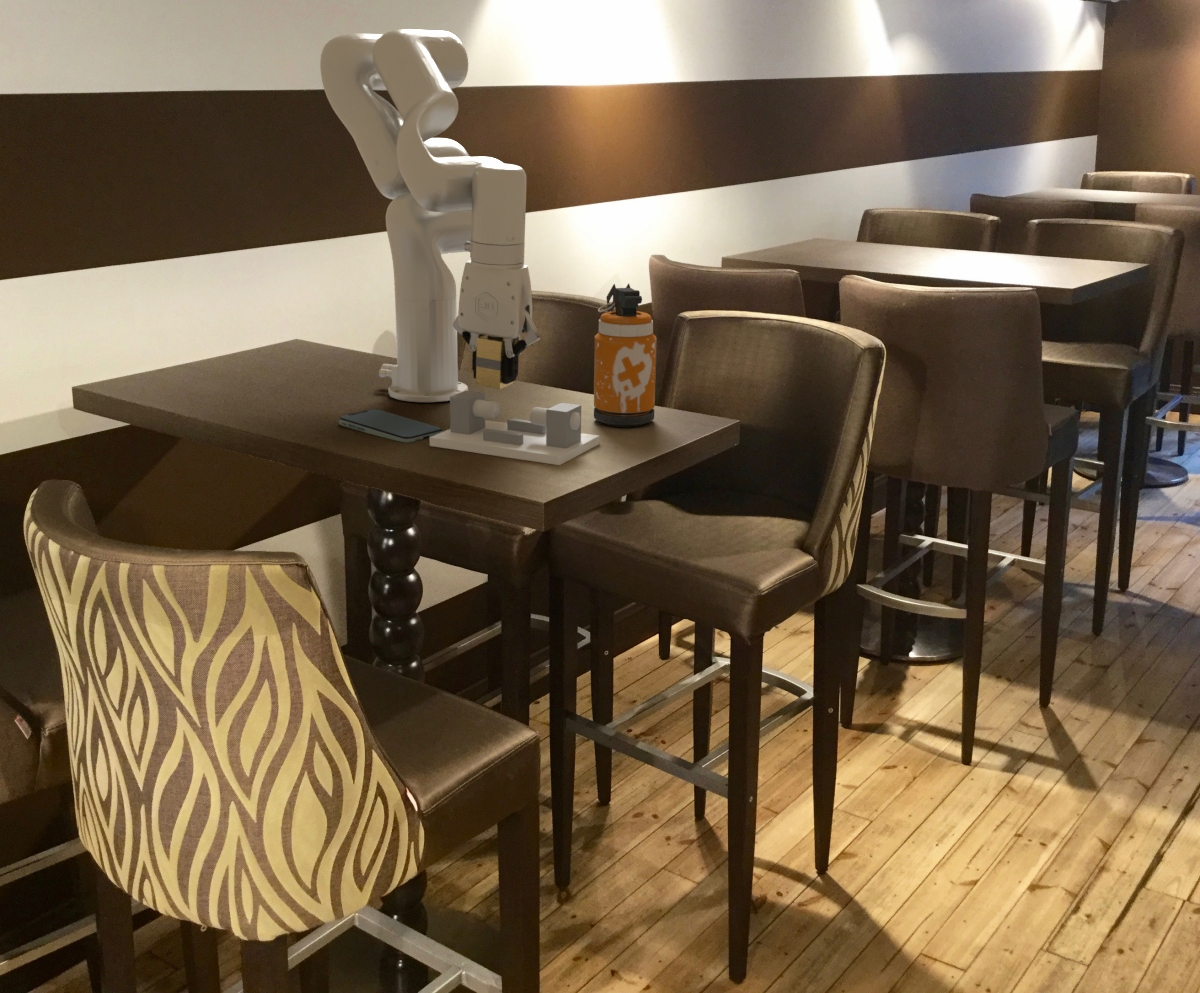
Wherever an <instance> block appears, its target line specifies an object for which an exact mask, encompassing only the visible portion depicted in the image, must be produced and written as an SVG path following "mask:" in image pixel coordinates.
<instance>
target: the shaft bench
mask: <svg viewBox="0 0 1200 993" xmlns="http://www.w3.org/2000/svg"><path fill="white" fill-rule="evenodd" d="M500 414H501V405H500V403H499V402H498V401H494V400H493V401H491V400H486V393H485V392H480V391H474V390H473V391H472V390H468V391H464V392H461V393H459V394H456V395H453V396H451V397H450V401H449V416H450V417H449V421H450V422H449V424H450V425H449V426H450V427H449V429H446V430H443V431H442V432H441V433H439V434H436V435H434V436H431V437H429V438H428V439H429V446H430V447H435V448H442V449H447V450H448V449H450V450H455V451H461V452H467V453H469V452H470V453H476V454H480V455H481V454H482V455H487V456H488V455H489V456H494V457H495V456H496V457H502V458H507V459H515V460H522V461H528V462H529V461H530V462H537V463H543V464H548V465H555V466H561V465H563V464H565V463H566V462H569V461H570V460H572V459H574V458H577V457H579V456H580V455H582V454H584V453H585V452H587V451H589V450H591V449H593V448H595V447H597V446H598V445H600V438H601V437H600V436H601V435H598V434H597V435H596V434H590V433H582V405H581V404H576V403H575V404H574V403H568V402H566V403H565V402H560V403H558V404H555V405H553V406H551V407H549V408H547V407H546V408H545V407H540V406H539V407H538V406H534V407H533V408H532V409H531V411H530V414H529V420H525V419H520V418H519V419H518V418H513V417H512V418H509V419H507V420H506V422H502V421H496V420H497V419H498V418H499V417H500V416H499V415H500ZM487 419H491V420H487ZM494 420H495V421H494Z"/></svg>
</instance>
